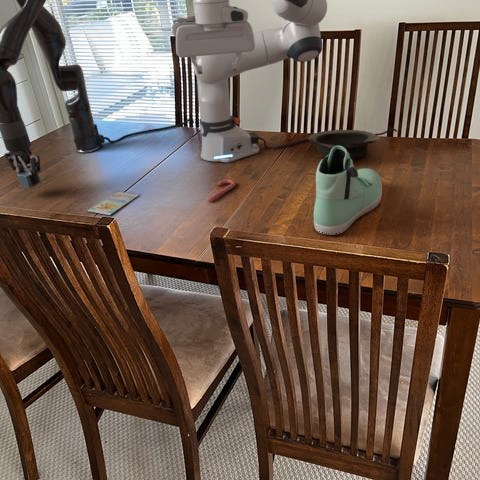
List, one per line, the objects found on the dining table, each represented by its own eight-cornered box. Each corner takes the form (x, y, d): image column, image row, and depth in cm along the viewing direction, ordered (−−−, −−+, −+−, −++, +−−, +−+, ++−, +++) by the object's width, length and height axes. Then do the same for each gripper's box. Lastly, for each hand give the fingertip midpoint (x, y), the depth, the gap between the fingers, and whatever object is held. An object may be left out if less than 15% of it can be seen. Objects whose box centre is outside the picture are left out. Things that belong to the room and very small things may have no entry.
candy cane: (196, 199, 151) (195, 195, 150) (224, 181, 161) (224, 177, 160) (211, 203, 148) (210, 199, 147) (239, 184, 158) (238, 180, 157)
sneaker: (389, 187, 148) (396, 123, 138) (356, 242, 123) (361, 168, 112) (346, 181, 154) (350, 119, 144) (306, 232, 129) (307, 161, 118)
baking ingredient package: (86, 209, 148) (117, 190, 160) (87, 211, 148) (117, 191, 160) (109, 214, 145) (139, 194, 156) (109, 215, 145) (139, 195, 156)
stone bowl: (336, 174, 158) (335, 147, 154) (295, 157, 179) (293, 133, 174) (394, 156, 167) (394, 130, 163) (348, 141, 187) (348, 118, 183)
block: (20, 186, 160) (16, 174, 157) (31, 180, 163) (28, 169, 161) (29, 188, 158) (26, 176, 156) (41, 182, 161) (37, 170, 159)
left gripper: (-11, 135, 151) (6, 184, 160) (21, 140, 146) (37, 190, 155) (8, 127, 157) (24, 175, 166) (39, 132, 151) (54, 181, 160)
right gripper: (170, 19, 116) (178, 78, 123) (254, 12, 117) (256, 71, 124) (171, 16, 121) (178, 73, 129) (251, 9, 122) (253, 66, 130)
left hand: (30, 182), depth 160 cm, fingers closed on block, 4 cm apart
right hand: (217, 72), depth 126 cm, fingers open, 8 cm apart
